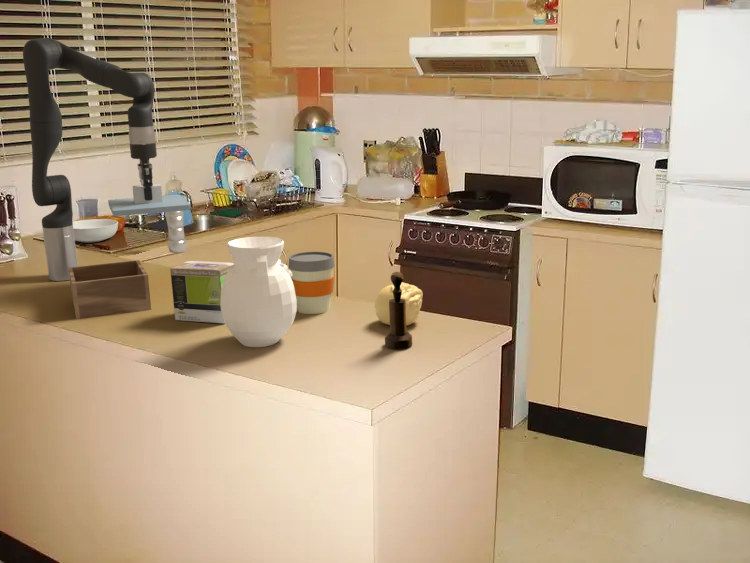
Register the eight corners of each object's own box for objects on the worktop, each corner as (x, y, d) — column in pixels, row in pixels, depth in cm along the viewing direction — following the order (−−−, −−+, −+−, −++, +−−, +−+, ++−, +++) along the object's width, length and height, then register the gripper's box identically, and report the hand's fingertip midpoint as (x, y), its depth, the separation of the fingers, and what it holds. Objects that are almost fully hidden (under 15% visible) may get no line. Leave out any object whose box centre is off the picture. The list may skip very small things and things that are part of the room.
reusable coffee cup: (305, 301, 243) (303, 249, 239) (344, 305, 237) (342, 253, 234) (282, 313, 232) (279, 259, 228) (322, 318, 227) (319, 263, 223)
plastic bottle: (183, 254, 306) (178, 199, 301) (165, 254, 307) (160, 199, 302) (190, 251, 312) (185, 196, 307) (173, 250, 313) (168, 196, 308)
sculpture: (409, 332, 213) (408, 290, 210) (367, 326, 219) (366, 285, 216) (429, 320, 222) (428, 280, 220) (388, 314, 228) (388, 275, 226)
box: (72, 300, 250) (68, 267, 247) (142, 292, 257) (139, 260, 255) (76, 318, 232) (71, 283, 229) (151, 309, 239) (147, 274, 237)
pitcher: (305, 348, 203) (300, 245, 197) (228, 357, 198) (220, 252, 192) (290, 325, 221) (285, 231, 214) (219, 334, 216) (211, 237, 209)
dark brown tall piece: (383, 341, 207) (381, 269, 202) (410, 340, 207) (409, 268, 203) (386, 350, 200) (384, 276, 196) (413, 349, 201) (412, 274, 196)
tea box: (241, 314, 232) (237, 261, 229) (223, 325, 223) (219, 270, 219) (193, 310, 237) (188, 258, 233) (173, 320, 228) (168, 267, 224)
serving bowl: (110, 245, 326) (108, 227, 324) (56, 246, 326) (53, 229, 325) (126, 234, 346) (124, 217, 344) (75, 235, 346) (73, 219, 345)
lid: (108, 205, 265) (106, 183, 263) (180, 199, 272) (178, 178, 270) (113, 216, 245) (111, 193, 243) (190, 210, 252) (189, 187, 250)
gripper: (127, 140, 259) (133, 196, 263) (131, 144, 246) (137, 203, 250) (152, 139, 261) (157, 194, 266) (158, 143, 248) (163, 201, 253)
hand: (147, 198), depth 258 cm, fingers closed on lid, 4 cm apart
